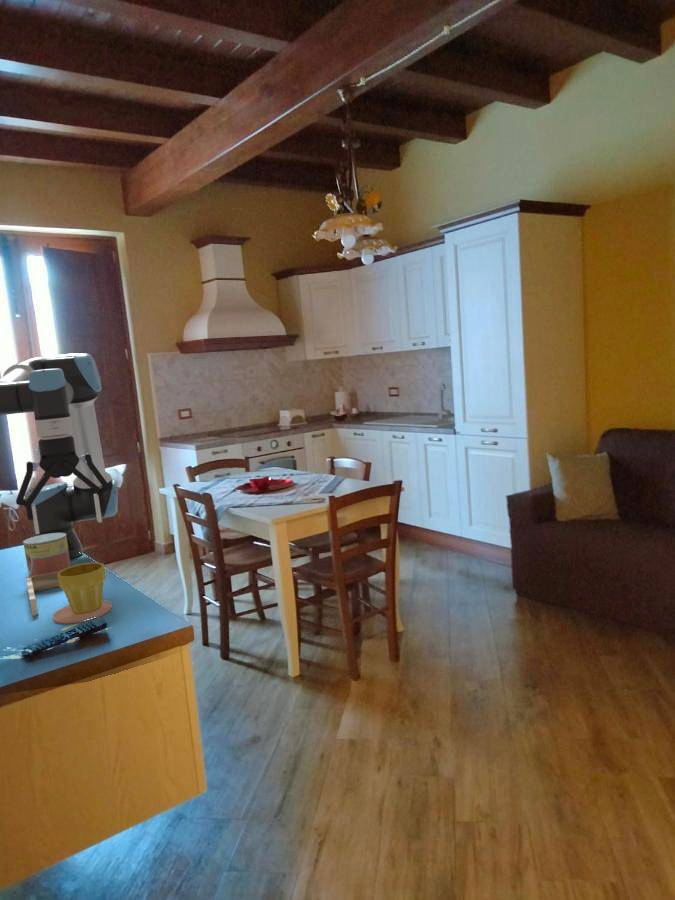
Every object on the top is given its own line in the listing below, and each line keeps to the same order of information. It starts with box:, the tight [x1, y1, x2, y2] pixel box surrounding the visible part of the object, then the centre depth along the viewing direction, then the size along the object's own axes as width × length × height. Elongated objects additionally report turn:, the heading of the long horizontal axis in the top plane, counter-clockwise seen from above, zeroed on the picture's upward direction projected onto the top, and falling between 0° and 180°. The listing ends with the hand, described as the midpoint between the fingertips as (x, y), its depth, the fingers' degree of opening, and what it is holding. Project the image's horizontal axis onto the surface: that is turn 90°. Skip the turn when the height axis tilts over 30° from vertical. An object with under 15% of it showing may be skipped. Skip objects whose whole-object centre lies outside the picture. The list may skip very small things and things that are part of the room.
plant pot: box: [58, 561, 107, 614], centre depth 155 cm, size 10×10×10 cm
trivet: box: [52, 599, 113, 625], centre depth 155 cm, size 13×13×1 cm
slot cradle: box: [25, 570, 61, 617], centre depth 170 cm, size 22×16×4 cm
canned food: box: [22, 533, 72, 577], centre depth 186 cm, size 11×11×12 cm
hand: (69, 527), depth 153 cm, fingers open, 13 cm apart
